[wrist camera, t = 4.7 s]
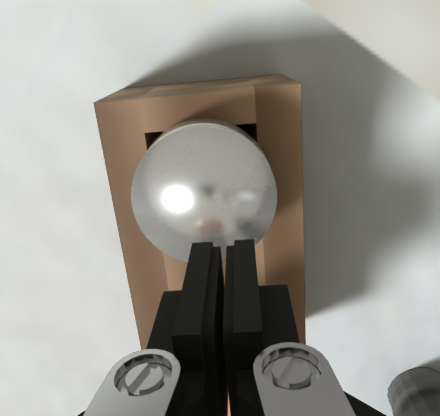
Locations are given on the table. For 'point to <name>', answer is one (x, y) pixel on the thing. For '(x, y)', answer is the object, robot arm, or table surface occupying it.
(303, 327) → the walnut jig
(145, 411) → the robot arm
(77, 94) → the table surface
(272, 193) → the steel plug
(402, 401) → the beverage cup
